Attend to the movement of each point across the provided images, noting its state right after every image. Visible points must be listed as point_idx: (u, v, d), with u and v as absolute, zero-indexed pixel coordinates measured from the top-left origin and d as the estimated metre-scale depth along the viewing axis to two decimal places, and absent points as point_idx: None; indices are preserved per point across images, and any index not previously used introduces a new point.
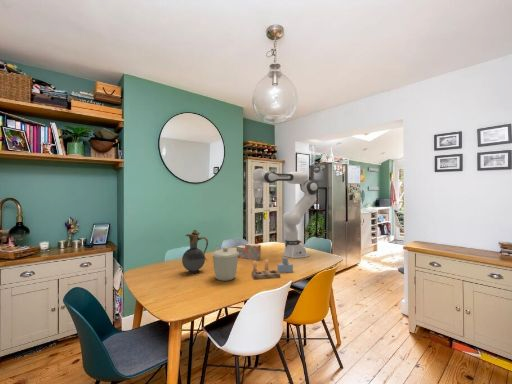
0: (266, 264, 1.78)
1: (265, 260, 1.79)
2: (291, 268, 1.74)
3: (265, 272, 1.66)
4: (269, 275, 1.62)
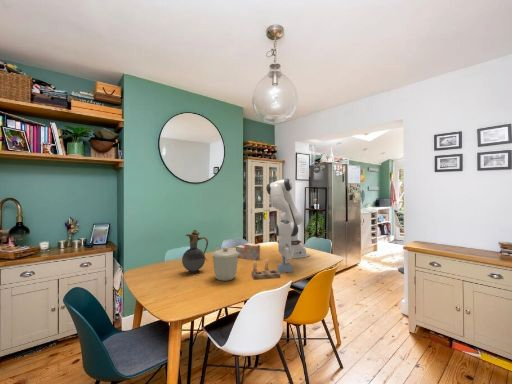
0: (266, 264, 1.78)
1: (265, 260, 1.79)
2: (291, 268, 1.74)
3: (265, 272, 1.66)
4: (269, 275, 1.62)
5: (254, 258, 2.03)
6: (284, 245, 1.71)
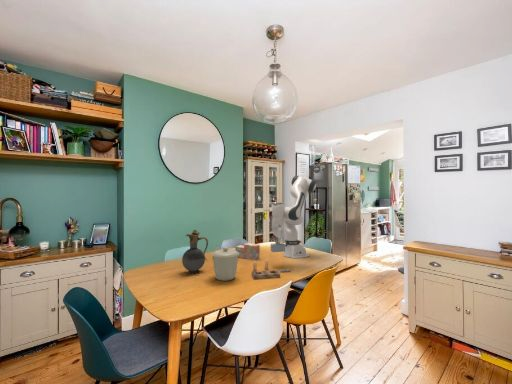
0: (266, 264, 1.78)
1: (265, 260, 1.79)
2: (283, 248, 1.84)
3: (265, 272, 1.66)
4: (269, 275, 1.62)
5: (254, 258, 2.04)
6: (277, 226, 1.81)
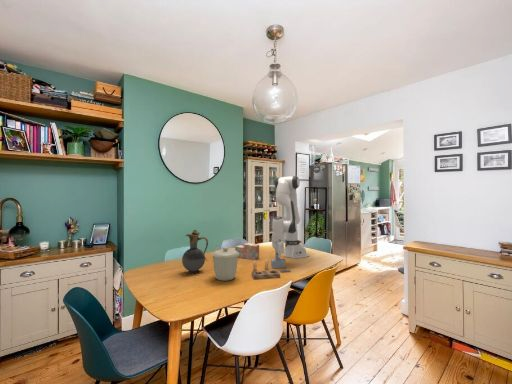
0: (266, 264, 1.78)
1: (265, 260, 1.79)
2: (283, 264, 1.84)
3: (265, 272, 1.66)
4: (269, 275, 1.62)
5: (253, 258, 2.04)
6: (277, 240, 1.81)
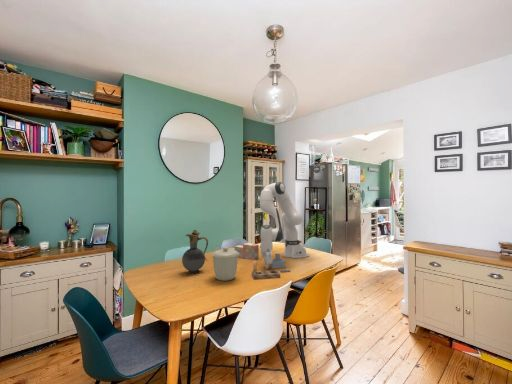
0: None
1: None
2: (283, 264, 1.84)
3: (265, 272, 1.66)
4: (269, 275, 1.62)
5: (253, 258, 2.04)
6: (265, 250, 1.75)
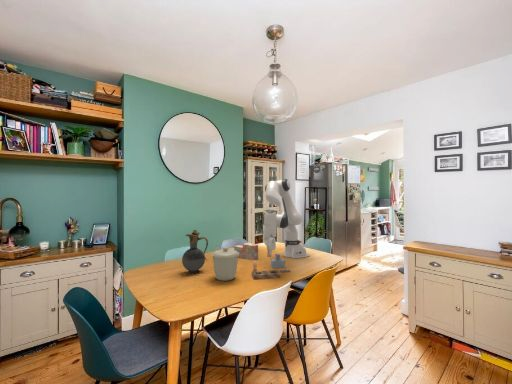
0: None
1: None
2: (283, 264, 1.84)
3: (265, 272, 1.66)
4: (269, 275, 1.62)
5: (252, 258, 2.04)
6: (268, 235, 1.64)
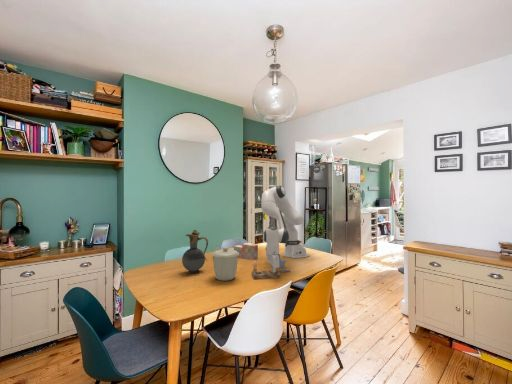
0: (272, 270, 1.65)
1: (271, 266, 1.65)
2: (283, 264, 1.84)
3: (265, 272, 1.66)
4: (269, 275, 1.62)
5: (252, 258, 2.05)
6: (271, 253, 1.62)
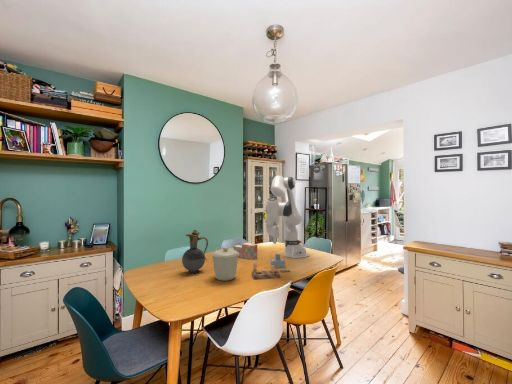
0: (272, 270, 1.65)
1: (271, 266, 1.65)
2: (283, 264, 1.84)
3: (265, 272, 1.66)
4: (269, 275, 1.62)
5: (251, 258, 2.05)
6: (271, 223, 1.62)
